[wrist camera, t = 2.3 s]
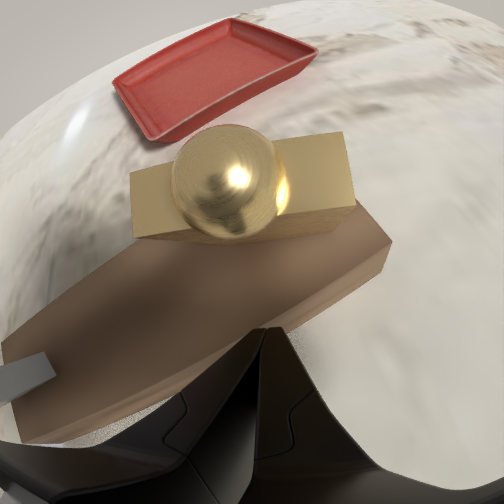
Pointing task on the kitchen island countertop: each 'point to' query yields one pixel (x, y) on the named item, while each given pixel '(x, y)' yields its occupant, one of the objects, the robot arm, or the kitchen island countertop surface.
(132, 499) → the robot arm
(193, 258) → the walnut panel
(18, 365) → the slate lever
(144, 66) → the plant saucer
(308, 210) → the brass lever
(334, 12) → the kitchen island countertop surface
